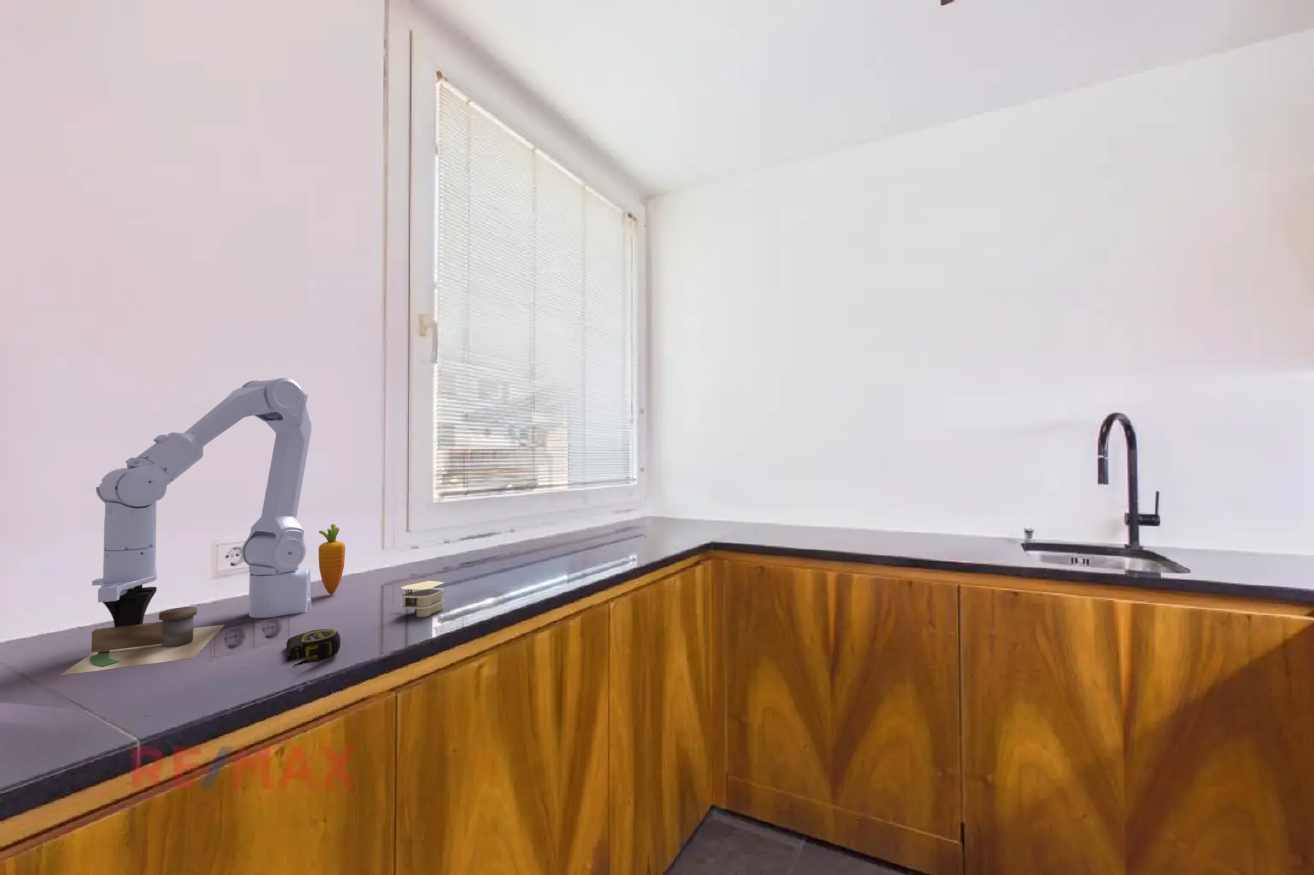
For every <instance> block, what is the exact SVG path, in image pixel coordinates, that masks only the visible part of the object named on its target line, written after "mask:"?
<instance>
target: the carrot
mask: <svg viewBox="0 0 1314 875" xmlns="http://www.w3.org/2000/svg"><path fill="white" fill-rule="evenodd" d="M326 530H327V532H326V531H324V530H322V529H320V530H319V531H318V533H319V534H321V535H322V536H324V537H325V539H326V540H327V541H326V542H322V543H321V544H320V545H319V546H318V567H319V568H318V569H319V574H320V578H321V581H322V584H323V586H324V588H325V590H326V592H327V593H328V594H329V595H330V596H332V595H334V593H335V592H336V590H337V589H338V587H339V585H340V583H341V580H342V576H343V573H344V568H345V561H346V560H345V558H346V545H345V543H344V542H342V541H339V540H337V536H338V534H339V532H340V528H339V527H337V525H336V524H335V523H333V524H332V523H331V525H330V527H328V528H327V529H326Z"/></svg>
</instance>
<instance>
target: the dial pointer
mask: <svg viewBox="0 0 1314 875" xmlns="http://www.w3.org/2000/svg"><path fill="white" fill-rule="evenodd" d="M197 614H198V607H196V606H184V607H183V606H182V607H175V608H169V609H166V610H162V611H160V612H159V613H158V620H159V621H155V622H146V623H144V622H143V624H136V625H127V626H118V627H115V626H112V627H111V626H109V627H102V628H96V629H94V630H92V631H91V653H93V652H101V651H109V650H117V649H124V648H132V647H140V646H148V645H156V644H162V646H165V647H170V646H178V645H183V644H186V643H189V642H191V641H193V628H194V616H196V615H197Z"/></svg>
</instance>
